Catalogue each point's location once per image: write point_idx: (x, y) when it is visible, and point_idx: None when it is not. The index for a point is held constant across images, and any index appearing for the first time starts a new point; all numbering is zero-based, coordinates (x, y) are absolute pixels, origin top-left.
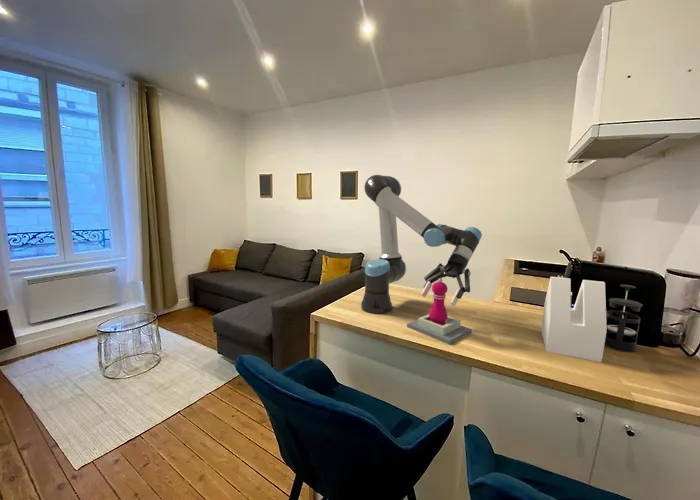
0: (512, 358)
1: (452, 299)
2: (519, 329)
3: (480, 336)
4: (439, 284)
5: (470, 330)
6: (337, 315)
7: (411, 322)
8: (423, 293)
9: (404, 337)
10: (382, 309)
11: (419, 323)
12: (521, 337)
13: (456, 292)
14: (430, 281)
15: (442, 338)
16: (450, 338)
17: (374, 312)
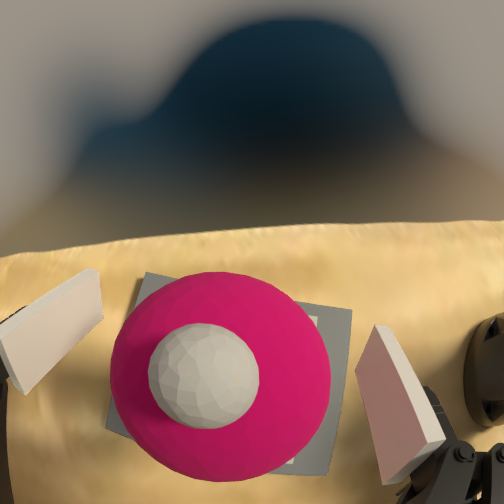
0: (14, 299)
1: (78, 281)
2: (29, 501)
3: (81, 406)
4: (189, 298)
5: (108, 418)
6: (496, 241)
7: (345, 334)
8: (375, 337)
9: (300, 232)
10: (477, 347)
11: None
12: (10, 446)
13: (27, 313)
14: (425, 484)
15: (174, 279)
16: (147, 290)
17: (480, 326)
